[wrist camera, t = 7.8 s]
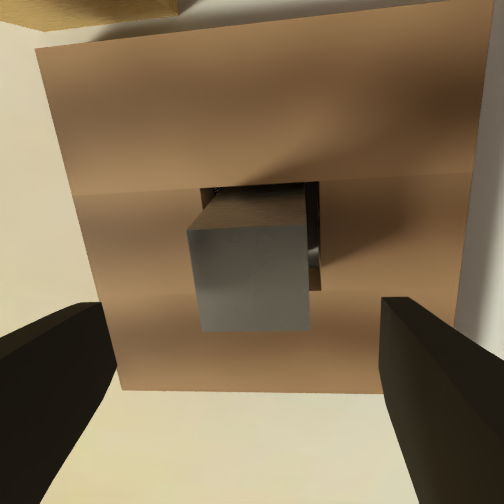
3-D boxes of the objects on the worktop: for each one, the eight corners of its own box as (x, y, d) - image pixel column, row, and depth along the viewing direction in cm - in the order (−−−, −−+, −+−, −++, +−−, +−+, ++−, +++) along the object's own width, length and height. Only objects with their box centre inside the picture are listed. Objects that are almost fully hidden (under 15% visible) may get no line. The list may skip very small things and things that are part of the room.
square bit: (306, 251, 19) (310, 330, 12) (234, 253, 19) (201, 332, 13) (303, 177, 18) (306, 224, 11) (226, 182, 18) (185, 230, 12)
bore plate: (428, 361, 20) (444, 394, 18) (140, 360, 23) (122, 390, 20) (463, 11, 15) (494, -5, 12) (70, 55, 17) (34, 48, 14)
